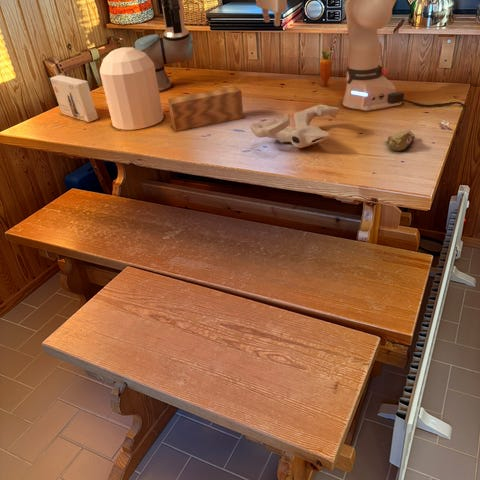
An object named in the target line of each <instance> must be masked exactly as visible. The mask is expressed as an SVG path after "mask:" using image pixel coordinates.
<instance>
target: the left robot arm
mask: <svg viewBox="0 0 480 480" xmlns="http://www.w3.org/2000/svg"><path fill="white" fill-rule="evenodd" d="M160 2H161V8H162V14H163V20H164V26H165V30H164V32H163V37H160V35H159V34H158V33H155V34H149V35H148V34H147V35H145V36H142V37H140V38H138V39H137V40H135V42H134V48H135V49H137V50H140V51H142V52H144V53H146V54H147V56H148V57H149V58H150V59H151V60H152V61H153V63H154V67H155V73H156V78H157V84H158V89H159V93H160V92H165V91H166V90H169V89H170V88H171V87H172V83H171V79H170V78H169V75H168V74H167V71H166V69H165V65H170V64H171V65H172V64H180V63H182V64H183V63H186V62H191V61H192V60H193V59H194V58H193V57H194V37H193V34H191V33H190V31H189V29H187V28H186V27H185V19H184V12H183V5H182V4H183V3H182V0H160Z"/></svg>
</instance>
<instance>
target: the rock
mask: <svg viewBox="0 0 480 480" xmlns="http://www.w3.org/2000/svg"><path fill="white" fill-rule="evenodd" d="M415 139H416V135H415V134H414V132H412V131H411V130H408V129H407V130H404V131H398V132H396V133H394V134H393V135H392V134H391V135H389V136H388V137H387V143H388V145H387V146H388V147H389V149H391V150H392V151H395V152H404V151H406V150H407V148H409V145H410V144H411V143H412V142H413V141H414V140H415Z"/></svg>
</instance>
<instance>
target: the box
mask: <svg viewBox="0 0 480 480" xmlns="http://www.w3.org/2000/svg"><path fill="white" fill-rule="evenodd" d="M167 100H168V105H169V113H170V118H171V125H172V127H173V129H174V131H175V132H180V131H184V130H190V129H195V128H200V127H205V126H209V125H214V124H219V123H224V122H228V121H233V120H238V119H243V118H244V109H243V108H244V106H243V95H242V90H241V89H240V88H239V87H238V86H232V87H226V88H221V89H216V90H211V91H210V90H209V91H205V92H199V93H194V94H189V95H183V96H177V97H173V98H168V99H167Z"/></svg>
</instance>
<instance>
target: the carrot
mask: <svg viewBox="0 0 480 480" xmlns="http://www.w3.org/2000/svg"><path fill="white" fill-rule="evenodd" d="M321 53H322V56H321V57H322V59H320V61H319V73H320V77H321V78H320V79H321V82H322V83H323V86H327V84H328V83H329V81H330V78H331V73H332V63H333V62H332V59H330V58H329V57H330V55H331V53H332V50H329V51H328V53H327V51H326V50H324V49H323V50H322V51H321Z"/></svg>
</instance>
